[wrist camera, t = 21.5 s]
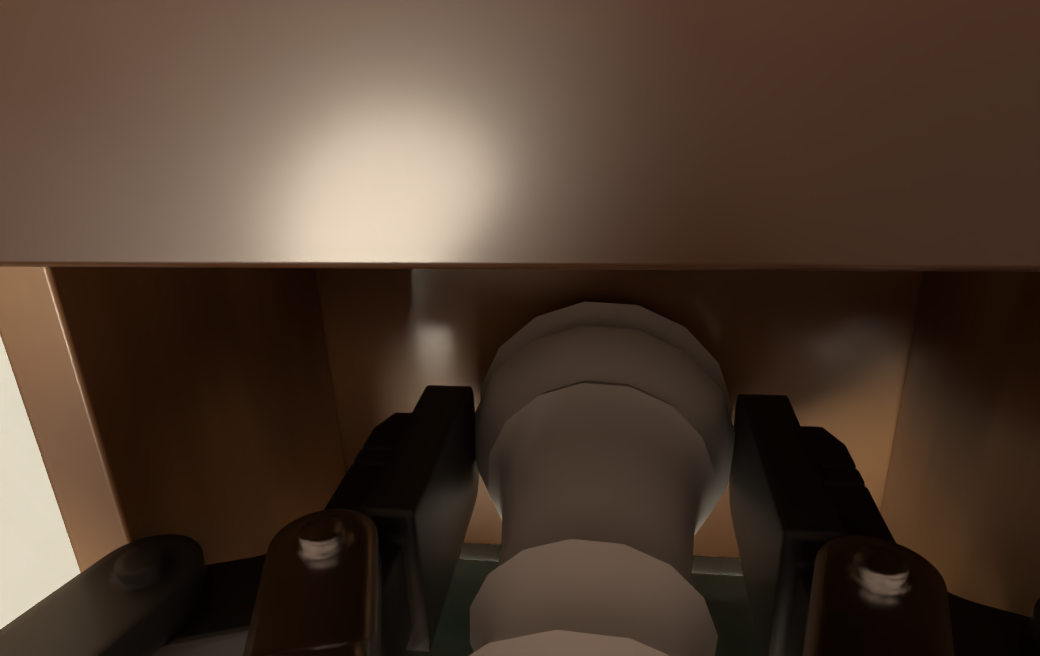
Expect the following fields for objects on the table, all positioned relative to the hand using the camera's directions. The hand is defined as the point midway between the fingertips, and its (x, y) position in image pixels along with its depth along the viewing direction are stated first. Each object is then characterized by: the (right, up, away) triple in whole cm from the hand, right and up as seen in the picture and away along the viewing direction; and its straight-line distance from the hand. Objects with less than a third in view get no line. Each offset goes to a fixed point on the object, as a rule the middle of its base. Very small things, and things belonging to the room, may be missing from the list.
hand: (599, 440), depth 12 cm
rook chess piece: (0, +1, +1) cm, 1 cm away
